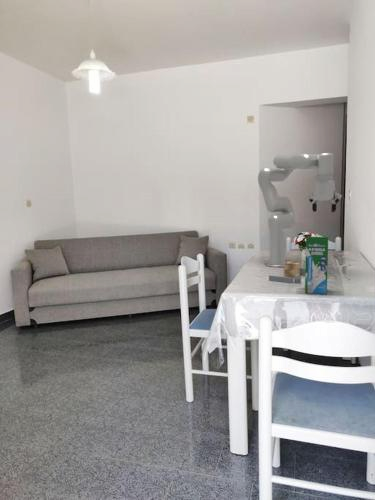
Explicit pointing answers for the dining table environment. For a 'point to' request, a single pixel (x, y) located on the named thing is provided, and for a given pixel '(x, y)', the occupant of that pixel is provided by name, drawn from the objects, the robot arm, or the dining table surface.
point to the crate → (291, 269)
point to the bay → (288, 278)
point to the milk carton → (316, 265)
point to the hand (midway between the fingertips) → (323, 211)
